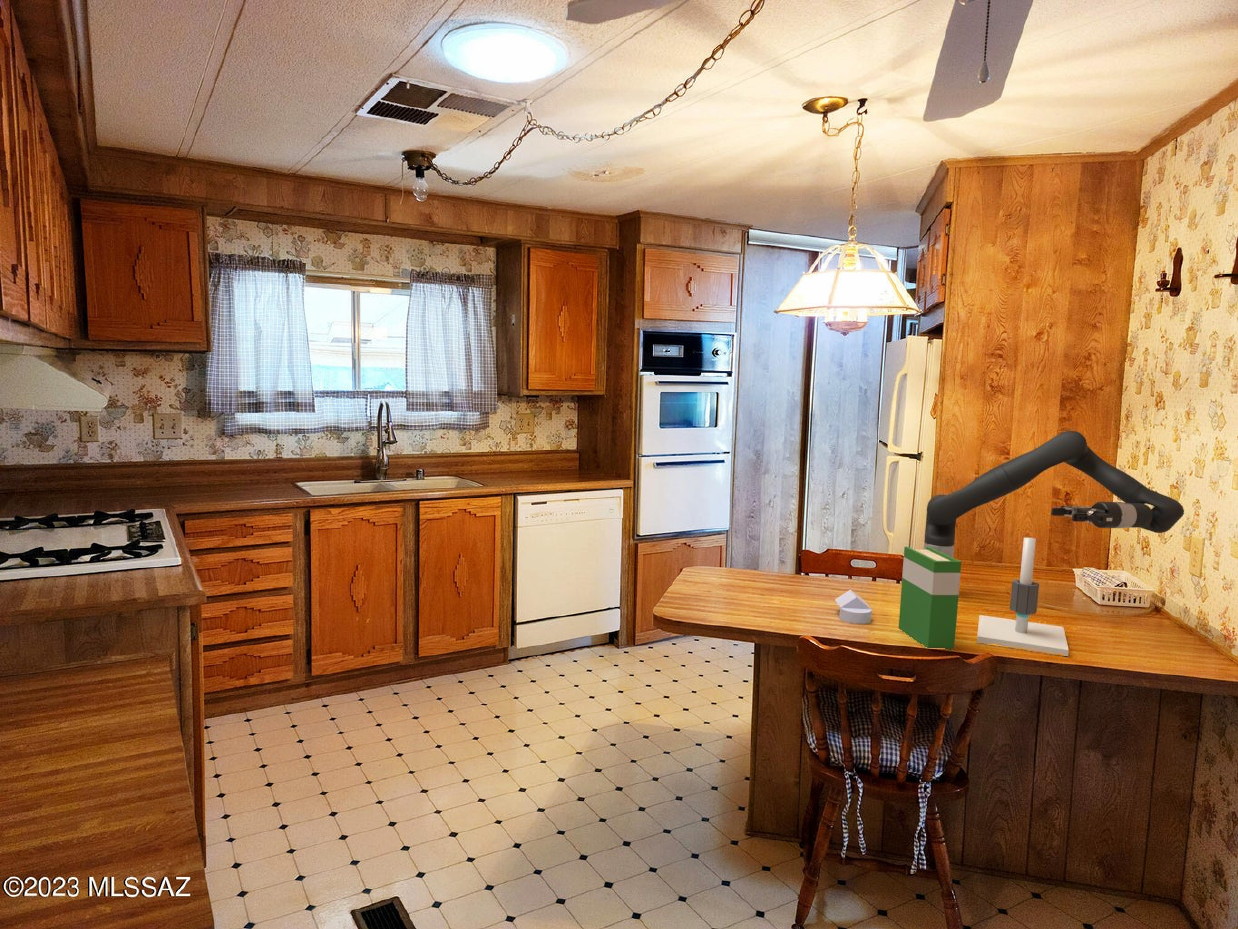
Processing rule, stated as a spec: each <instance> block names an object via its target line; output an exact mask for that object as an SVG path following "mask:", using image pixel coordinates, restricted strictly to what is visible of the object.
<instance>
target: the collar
mask: <svg viewBox="0 0 1238 929" xmlns="http://www.w3.org/2000/svg"><path fill="white" fill-rule="evenodd" d="M1039 588H1040V583H1038V582H1036V581H1033V580H1032V585H1027V584H1021V583H1020V579H1014V580H1012V583H1011V595H1010V604H1009V610H1010V611H1012V612H1014V613H1016V612H1017V613H1022V614H1030V615H1036V614H1037V610H1038V602H1039V601H1038V600H1039Z"/></svg>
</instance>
